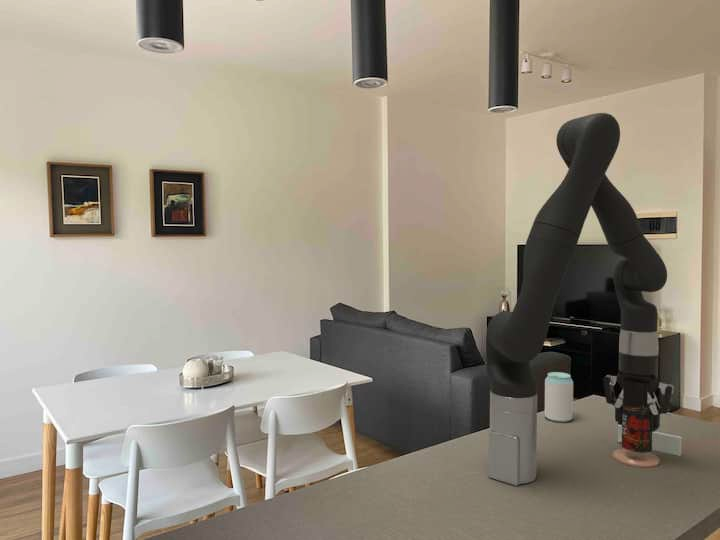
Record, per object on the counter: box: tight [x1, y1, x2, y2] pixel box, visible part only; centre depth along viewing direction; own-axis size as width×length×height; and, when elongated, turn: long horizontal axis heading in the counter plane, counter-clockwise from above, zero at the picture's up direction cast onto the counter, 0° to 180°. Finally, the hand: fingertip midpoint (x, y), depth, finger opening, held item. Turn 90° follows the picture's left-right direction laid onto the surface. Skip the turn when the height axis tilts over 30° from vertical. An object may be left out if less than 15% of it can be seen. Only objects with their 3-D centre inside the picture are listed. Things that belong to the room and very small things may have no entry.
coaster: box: [612, 448, 660, 469], centre depth 119 cm, size 9×9×1 cm
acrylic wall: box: [617, 424, 683, 457], centre depth 125 cm, size 1×13×4 cm, turn 49°
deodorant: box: [621, 379, 653, 453], centre depth 119 cm, size 6×6×15 cm
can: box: [544, 371, 574, 423], centre depth 146 cm, size 7×7×12 cm
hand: (637, 427), depth 119 cm, fingers closed on deodorant, 6 cm apart
